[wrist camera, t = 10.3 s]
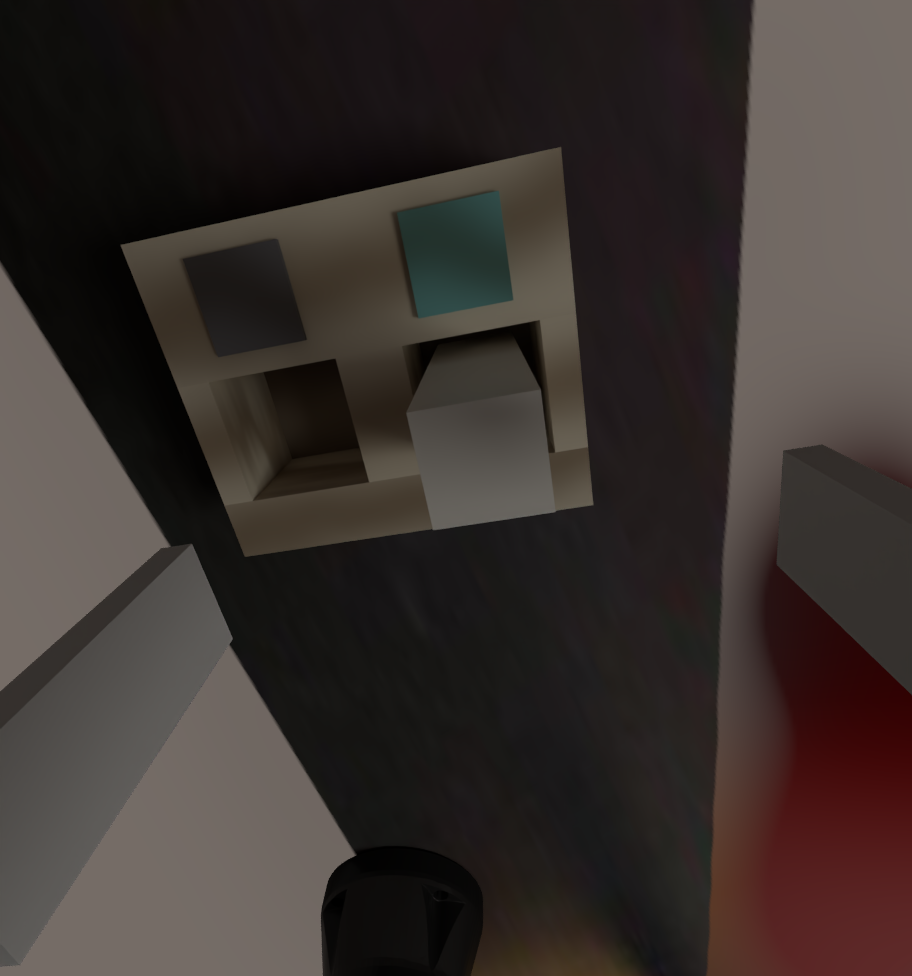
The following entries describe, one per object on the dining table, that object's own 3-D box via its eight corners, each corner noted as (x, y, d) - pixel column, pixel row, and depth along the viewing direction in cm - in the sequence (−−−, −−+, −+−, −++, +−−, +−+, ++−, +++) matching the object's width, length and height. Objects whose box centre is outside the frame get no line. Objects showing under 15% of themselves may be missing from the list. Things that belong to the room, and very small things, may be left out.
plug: (520, 403, 29) (555, 511, 16) (451, 415, 30) (433, 530, 17) (510, 331, 28) (540, 389, 15) (438, 344, 28) (406, 413, 15)
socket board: (569, 455, 32) (594, 507, 25) (289, 500, 33) (242, 559, 27) (539, 175, 26) (562, 145, 19) (203, 249, 28) (115, 244, 21)
